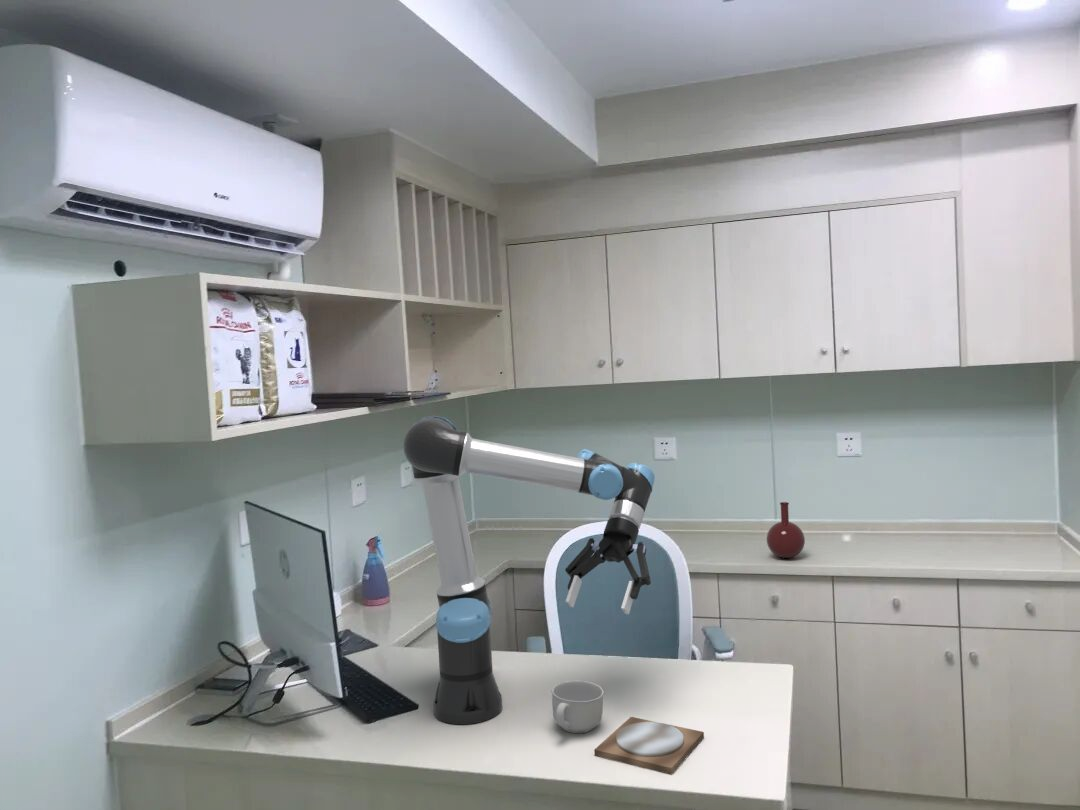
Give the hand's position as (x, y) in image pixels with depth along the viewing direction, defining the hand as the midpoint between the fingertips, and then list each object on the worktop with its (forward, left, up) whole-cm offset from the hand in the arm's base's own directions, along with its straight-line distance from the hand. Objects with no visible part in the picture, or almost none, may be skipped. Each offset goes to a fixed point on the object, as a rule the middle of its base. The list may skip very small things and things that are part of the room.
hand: (596, 608), depth 179 cm
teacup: (0, -11, -23) cm, 25 cm away
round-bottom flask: (+1, +140, -23) cm, 142 cm away
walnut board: (+17, -11, -22) cm, 30 cm away
